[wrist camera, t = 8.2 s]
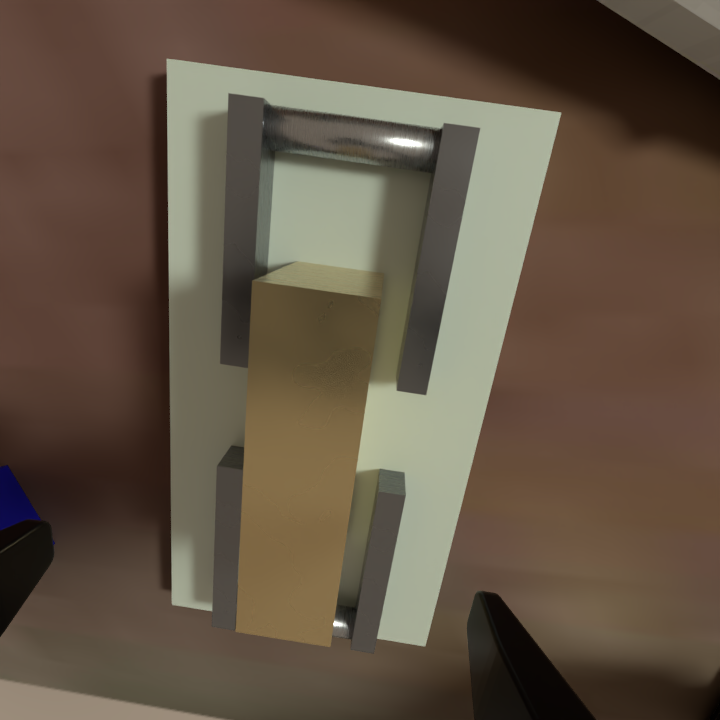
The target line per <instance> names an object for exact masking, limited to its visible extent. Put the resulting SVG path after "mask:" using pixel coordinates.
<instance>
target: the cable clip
mask: <svg viewBox="0 0 720 720" xmlns="http://www.w3.org/2000/svg"><path fill="white" fill-rule="evenodd" d="M27 519H35V520H41V519H40V518H39V516H38V514H37V513H36V511H35V510H34V508H33V506H32V505H31V503H30V501H29V500H28V498H27V496H26V495H25V493H24V492H23V490H22V488H21V487H20V485H19V483H18V482H17V480H16V478H15V477H14V475H13V474H12V472H11V470H10V469H9V467H8V465H6V466H2V467H0V530H2V529H5V528H7V527H9V526H12V525H14V524H16V523H19V522H21V521H24V520H27ZM54 544H55V542H54V541H53V545H54Z"/></svg>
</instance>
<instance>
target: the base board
mask: <svg viewBox="0 0 720 720" xmlns="http://www.w3.org/2000/svg"><path fill="white" fill-rule="evenodd" d="M228 93H231V94H239V95H246V96H253V97H260V98H265V99H266V100H267V101H268V102H269V103H270V104H271V105H277V106H284V107H291V108H299V109H306V110H313V111H320V112H328V113H335V114H342V115H349V116H356V117H364V118H371V119H378V120H385V121H393V122H400V123H407V124H414V125H421V126H429V127H436V128H441V127H442V126H443V124H444V123H449V124H456V125H463V126H470V127H478V128H480V132H479V137H478V142H477V147H476V152H475V157H474V162H473V167H472V172H471V177H470V182H469V187H468V192H467V197H466V201H465V206H464V211H463V216H462V221H461V226H460V231H459V236H458V241H457V246H456V251H455V256H454V261H453V266H452V271H451V275H450V280H449V285H448V290H447V295H446V300H445V305H444V310H443V315H442V320H441V325H440V330H439V335H438V340H437V345H436V349H435V354H434V359H433V364H432V369H431V374H430V379H429V384H428V389H427V394H426V395H421V394H414V393H407V392H401V391H396V372H397V366H398V360H399V355H400V349H401V343H402V337H403V332H404V326H405V320H406V315H407V309H408V303H409V297H410V292H411V286H412V280H413V274H414V269H415V263H416V257H417V252H418V246H419V240H420V234H421V229H422V223H423V217H424V211H425V206H426V200H427V194H428V189H429V183H430V177H431V173H427V172H420V171H413V170H405V169H398V168H391V167H384V166H377V165H370V164H363V163H356V162H349V161H342V160H334V159H327V158H320V157H313V156H306V155H299V154H292V153H285V152H278V151H275V162H274V177H273V193H272V208H271V224H270V239H269V255H268V270H267V274H269V273H271V272H273V271H276V270H278V269H280V268H283V267H285V266H287V265H290V264H292V263H294V262H297V261H300V262H307V263H314V264H321V265H328V266H335V267H343V268H350V269H357V270H364V271H371V272H378V273H384V280H383V289H382V297H381V305H380V311H379V318H378V325H377V332H376V339H375V346H374V352H373V359H372V366H371V373H370V380H369V387H368V393H367V400H366V407H365V414H364V421H363V428H362V434H361V441H360V448H359V455H358V462H357V468H356V475H355V482H354V489H353V496H352V503H351V509H350V516H349V523H348V530H347V537H346V544H345V550H344V557H343V564H342V571H341V578H340V585H339V591H338V598H337V605H343V606H350V607H355V606H356V601H357V595H358V589H359V584H360V578H361V572H362V566H363V561H364V555H365V549H366V544H367V538H368V532H369V526H370V521H371V515H372V509H373V503H374V498H375V492H376V486H377V481H378V475H379V469H386V470H392V471H398V472H405V490H406V497H405V502H404V507H403V512H402V517H401V522H400V527H399V532H398V537H397V542H396V547H395V552H394V557H393V562H392V567H391V572H390V576H389V581H388V586H387V591H386V596H385V601H384V606H383V611H382V616H381V621H380V626H379V631H378V636H377V639H383V640H389V641H395V642H401V643H407V644H413V645H419V646H426V642H427V638H428V634H429V630H430V626H431V622H432V618H433V614H434V610H435V606H436V602H437V598H438V595H439V591H440V587H441V583H442V579H443V575H444V571H445V567H446V563H447V559H448V555H449V551H450V547H451V544H452V540H453V536H454V532H455V528H456V524H457V520H458V516H459V512H460V508H461V504H462V500H463V496H464V493H465V489H466V485H467V481H468V477H469V473H470V469H471V465H472V461H473V457H474V453H475V449H476V445H477V442H478V438H479V434H480V430H481V426H482V422H483V418H484V414H485V410H486V406H487V402H488V398H489V394H490V391H491V387H492V383H493V379H494V375H495V371H496V367H497V363H498V359H499V355H500V351H501V347H502V343H503V340H504V336H505V332H506V328H507V324H508V320H509V316H510V312H511V308H512V304H513V300H514V296H515V292H516V289H517V285H518V281H519V277H520V273H521V269H522V265H523V261H524V257H525V253H526V249H527V245H528V241H529V238H530V234H531V230H532V226H533V222H534V218H535V214H536V210H537V206H538V202H539V198H540V194H541V190H542V187H543V183H544V179H545V175H546V171H547V167H548V163H549V159H550V155H551V151H552V147H553V143H554V139H555V136H556V132H557V128H558V124H559V120H560V116H561V113H560V112H553V111H546V110H539V109H531V108H524V107H517V106H509V105H502V104H495V103H487V102H480V101H473V100H465V99H458V98H451V97H443V96H436V95H429V94H422V93H414V92H407V91H400V90H392V89H385V88H378V87H370V86H363V85H356V84H348V83H341V82H334V81H327V80H319V79H312V78H305V77H297V76H290V75H283V74H275V73H268V72H261V71H253V70H246V69H239V68H231V67H224V66H217V65H210V64H202V63H195V62H188V61H180V60H173V59H167V140H168V245H169V351H170V456H171V561H172V605H178V606H184V607H190V608H196V609H202V610H208V611H212V604H213V572H214V540H215V507H216V475H217V465H218V464H219V462H220V461H221V459H222V458H223V456H224V455H225V454H226V452H227V451H228V449H229V448H230V447H231V445H232V446H239V447H244V444H245V422H246V401H247V380H248V368H243V367H237V366H230V365H224V364H220V347H221V315H222V282H223V250H224V218H225V186H226V154H227V122H228Z"/></svg>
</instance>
